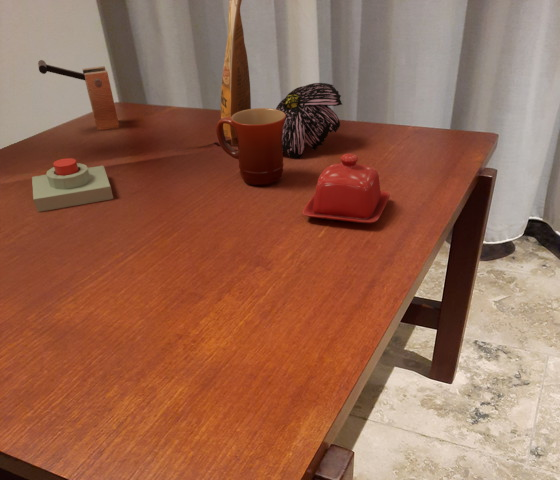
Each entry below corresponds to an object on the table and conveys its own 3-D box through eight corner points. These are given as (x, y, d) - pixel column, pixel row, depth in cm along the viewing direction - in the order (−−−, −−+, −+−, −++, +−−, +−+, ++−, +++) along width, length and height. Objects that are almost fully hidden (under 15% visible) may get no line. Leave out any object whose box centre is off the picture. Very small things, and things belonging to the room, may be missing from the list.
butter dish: (321, 192, 90) (321, 138, 84) (391, 199, 87) (397, 144, 81) (299, 222, 82) (298, 165, 76) (376, 232, 79) (381, 173, 73)
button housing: (37, 212, 88) (29, 188, 85) (36, 189, 95) (28, 166, 92) (113, 199, 91) (107, 175, 88) (106, 177, 98) (100, 154, 95)
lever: (38, 75, 104) (39, 61, 103) (37, 69, 108) (38, 56, 107) (104, 91, 110) (106, 78, 109) (102, 85, 113) (103, 72, 112)
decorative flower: (247, 88, 103) (322, 55, 102) (263, 139, 113) (332, 110, 112) (269, 133, 95) (350, 98, 94) (285, 184, 105) (358, 152, 104)
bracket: (81, 143, 112) (64, 79, 104) (77, 129, 119) (61, 68, 111) (140, 134, 115) (128, 71, 107) (133, 121, 122) (121, 61, 114)
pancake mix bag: (258, 117, 121) (249, -42, 102) (254, 148, 106) (242, -31, 88) (228, 118, 121) (213, -41, 103) (219, 149, 107) (200, -30, 88)
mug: (295, 172, 96) (293, 110, 90) (276, 192, 90) (273, 126, 84) (233, 165, 100) (227, 104, 93) (210, 183, 94) (203, 120, 87)
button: (57, 178, 89) (53, 167, 88) (55, 170, 91) (52, 160, 90) (79, 174, 90) (76, 164, 89) (78, 167, 92) (75, 156, 91)
